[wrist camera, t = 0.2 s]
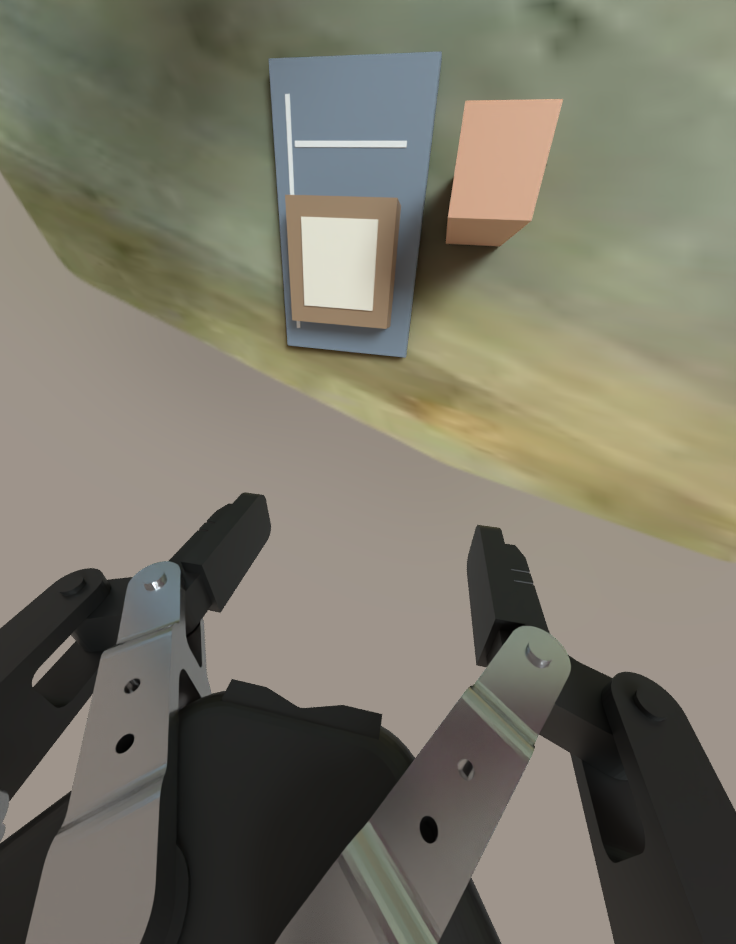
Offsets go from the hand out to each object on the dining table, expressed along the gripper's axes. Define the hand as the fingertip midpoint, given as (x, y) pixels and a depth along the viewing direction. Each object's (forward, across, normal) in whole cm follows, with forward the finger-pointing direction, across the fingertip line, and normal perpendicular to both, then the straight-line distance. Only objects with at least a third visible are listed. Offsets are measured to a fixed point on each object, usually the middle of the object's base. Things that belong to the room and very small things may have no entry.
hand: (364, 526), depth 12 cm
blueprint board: (+29, +7, -12) cm, 32 cm away
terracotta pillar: (+29, -5, -13) cm, 32 cm away
